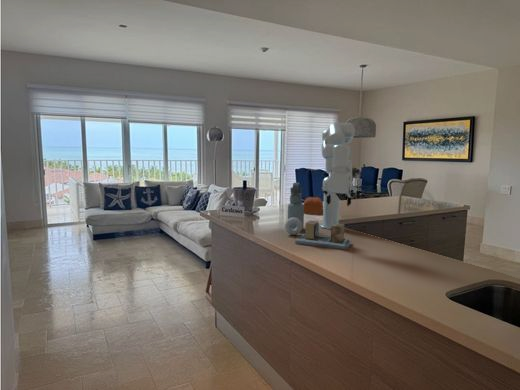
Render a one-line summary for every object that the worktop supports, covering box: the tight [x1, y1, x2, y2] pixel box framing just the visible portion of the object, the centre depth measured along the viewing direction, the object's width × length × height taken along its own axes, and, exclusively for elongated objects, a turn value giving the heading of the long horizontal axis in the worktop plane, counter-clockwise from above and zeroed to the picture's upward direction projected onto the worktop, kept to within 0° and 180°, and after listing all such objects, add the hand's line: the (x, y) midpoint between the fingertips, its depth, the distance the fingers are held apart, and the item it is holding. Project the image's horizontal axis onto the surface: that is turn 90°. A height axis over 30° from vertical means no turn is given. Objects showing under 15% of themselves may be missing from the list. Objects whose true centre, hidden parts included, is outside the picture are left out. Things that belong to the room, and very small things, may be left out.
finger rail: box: [294, 220, 352, 251], centre depth 179 cm, size 12×26×11 cm, turn 65°
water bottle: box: [287, 182, 305, 230], centre depth 211 cm, size 10×10×28 cm
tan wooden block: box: [330, 222, 345, 243], centre depth 176 cm, size 5×8×9 cm, turn 155°
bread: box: [302, 196, 324, 216], centre depth 274 cm, size 16×27×11 cm, turn 169°
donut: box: [284, 218, 304, 236], centre depth 197 cm, size 10×4×10 cm, turn 91°
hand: (338, 204), depth 174 cm, fingers open, 9 cm apart
